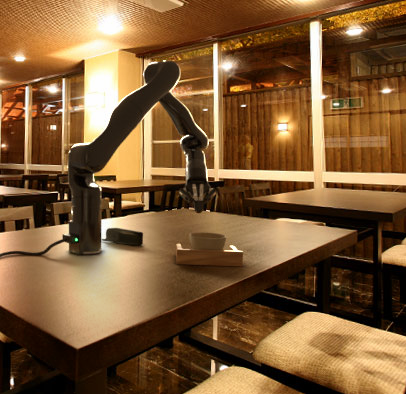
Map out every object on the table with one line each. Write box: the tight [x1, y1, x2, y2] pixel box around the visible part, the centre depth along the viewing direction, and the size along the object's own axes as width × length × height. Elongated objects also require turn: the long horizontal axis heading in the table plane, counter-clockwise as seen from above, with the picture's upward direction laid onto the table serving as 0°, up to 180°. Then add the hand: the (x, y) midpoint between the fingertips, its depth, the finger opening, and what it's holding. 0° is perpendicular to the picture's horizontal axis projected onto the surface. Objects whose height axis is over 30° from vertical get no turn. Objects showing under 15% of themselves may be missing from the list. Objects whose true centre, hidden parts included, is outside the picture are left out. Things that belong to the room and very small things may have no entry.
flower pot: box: [188, 231, 227, 250], centre depth 112 cm, size 10×10×7 cm
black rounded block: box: [101, 227, 144, 247], centre depth 135 cm, size 5×3×15 cm
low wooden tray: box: [175, 243, 244, 267], centre depth 111 cm, size 10×17×4 cm, turn 82°
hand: (199, 211), depth 132 cm, fingers closed
